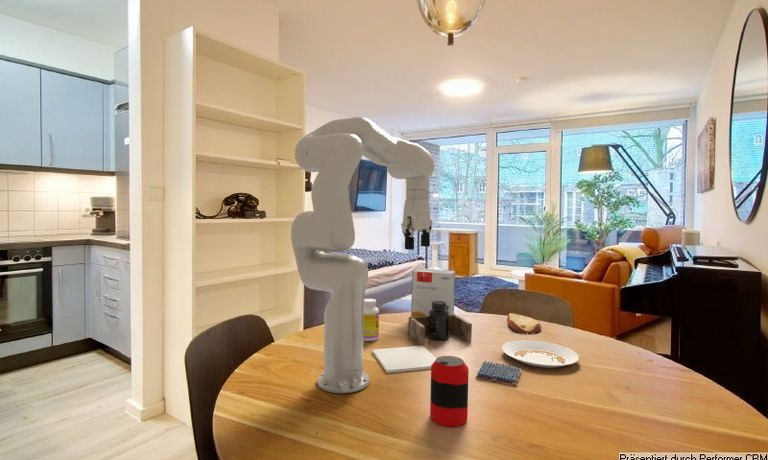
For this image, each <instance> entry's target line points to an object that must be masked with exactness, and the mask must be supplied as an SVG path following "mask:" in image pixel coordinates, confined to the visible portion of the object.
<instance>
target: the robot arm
mask: <svg viewBox="0 0 768 460" xmlns="http://www.w3.org/2000/svg"><path fill="white" fill-rule="evenodd" d="M362 157H364V158H366V159H368V160H369V161H371V162H372V163H374V164H376V165H378V166H383V167H386V169H387V173H388V174H389V175H390V176H391V177H392V178H394V179H397V180H405V200H404V205H403V214H402V222H401V224H400V226H401V227H400V228H401V229H402V233H403V237H404V249H405V250H409V251H413V250H415V237H413V236H414V235H415V233H416V231H417V232H418V231H420V232H421V234H420V246H421V247H426V248H427V247H430V246H431V234H432V232H431V231H432V230H433V229H432V228H433V227H432V226H433V220H432V219H431V209H430V208H431V207H430V177H431V176H432V175H433V173H434V171H435V161H434V158H433V156H432V155H431V153H430V152H429V151H428V150H427V149H425V148H424V147H423V146H422V145H419V144H418V143H414V142H411V141H408V140H405V139H401V138H398V137H393V136H392V135H390V134H389V133H388V132H386V131H385V130H384V129H382V128H381V127H380V126H378V125H377V124H376V123H375V122H373V121H372V120H370V119H368V117H362V116H355V117H346V118H341V119H340V118H338V119H334V120H331V121H329V122H326V123H324V124H322V125H321V126H319V127H318V128H316V129H314V130H313V131H311V132H310V133H308V134H305V135H304V136H303V137H301V138H300V140H299V141H297V144H296V145H295V149H294V158H295V161H296V163H297V165H298V166H299V167H300V168H301V169H302V170H303V171H305V172H309V173H317V174H316V176H315V179H314V180H313V183H312V185H311V193H310V194H311V202H312V204H311V205H312V210H311V211H310V210H308V211H307V210H306V211H303V212H300V213H299V214H297V215H296V217H295V218H294V220H293V221H292V224H291V227H290V228H291V229H290V240H291V245H292V250H293V254H294V258H295V262H296V268H297V272H298V275H299V278H300V281H301V282H302V284H303V285H304V286H305V287H306V288H308V289H310V290H313V291H314V290H315V291H320V292H322V291H323V292H327V293H331V294H332V295H331V297H330V299H329V300H328V302H327V303H326V306H325V307H324V308H325V309H324V315H323V322H324V324H323V325H324V328H323V329H324V331H323V335H324V337H323V338H324V339H323V340H324V342H323V344H324V345H323V362H324V363H323V372H322V373H321V374H320V375H319V376H318V377H317V386H318V387H319V388H320V389H321V390H323V391H326V392H328V393H333V394H349V393H350V394H351V393H354V392H358V391H361V390H363V389H365V388H366V387H367V386H368V385H369V384H370V376H369V375H368V373H367V372H365V371H364V341H363V314H364V299H365V297H366V296H365V295H366V289H367V284H368V280H369V268H368V265H367V263H366V262H365V260H363V259H362V258H361V257H359V256H357V255H355V254H354V255H353V254H350V253H349V254H347V253H340V252H346V251H348V250H350V249H352V247H353V246H354V244H355V241H356V236H355V235H356V232H355V225H354V220H353V212H352V208H351V202H350V195H349V193H350V192H349V188H350V184H351V180H352V177H353V176H354V173H355V171H356V169H357V168H358V166H359V163H360V162H361V160H362ZM330 252H333V253H330ZM337 252H339V253H337Z"/></svg>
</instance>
